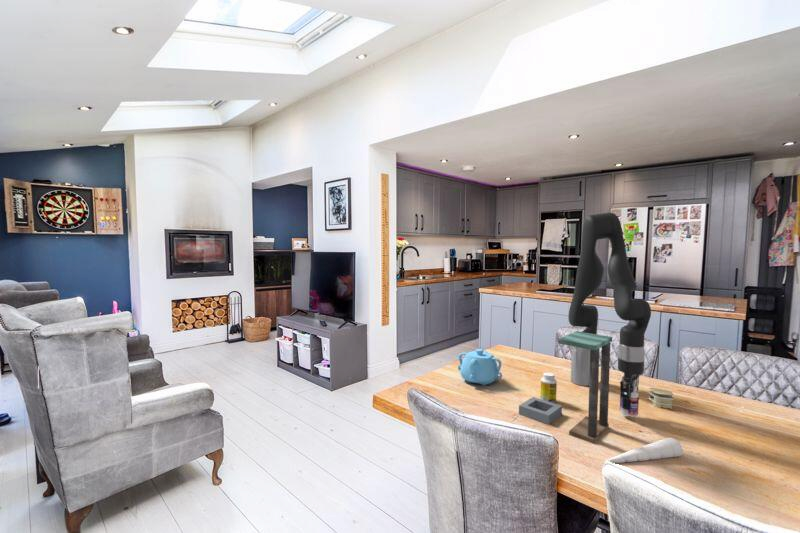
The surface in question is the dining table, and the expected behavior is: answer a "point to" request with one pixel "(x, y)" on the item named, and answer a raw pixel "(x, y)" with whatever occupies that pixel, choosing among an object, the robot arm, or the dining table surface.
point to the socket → (540, 410)
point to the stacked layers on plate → (661, 398)
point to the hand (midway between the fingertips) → (629, 406)
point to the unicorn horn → (651, 451)
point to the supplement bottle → (548, 387)
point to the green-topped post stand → (593, 383)
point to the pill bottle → (634, 404)
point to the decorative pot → (479, 367)
